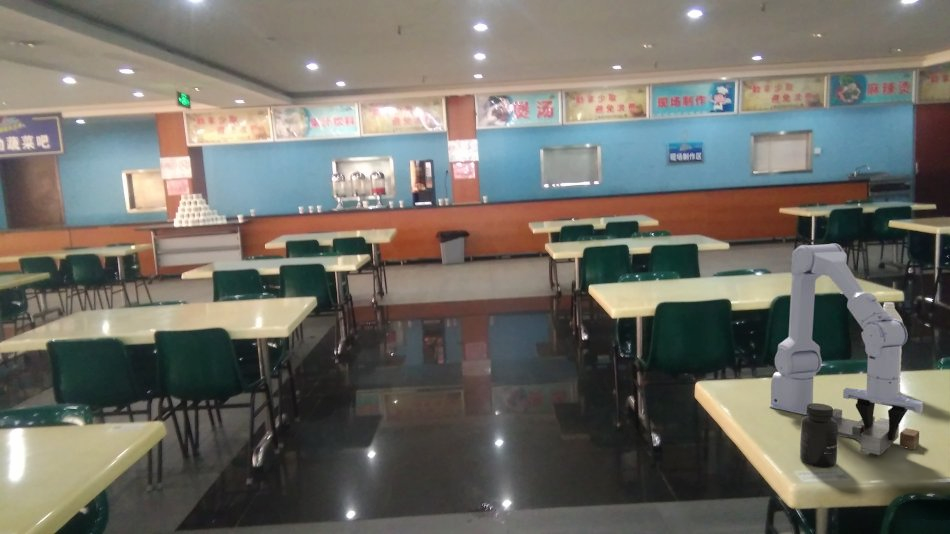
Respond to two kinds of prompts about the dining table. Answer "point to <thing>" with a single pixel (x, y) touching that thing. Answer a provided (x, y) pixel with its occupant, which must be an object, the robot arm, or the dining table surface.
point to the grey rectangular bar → (877, 437)
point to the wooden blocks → (906, 437)
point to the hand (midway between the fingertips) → (880, 436)
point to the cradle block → (848, 425)
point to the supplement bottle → (819, 436)
